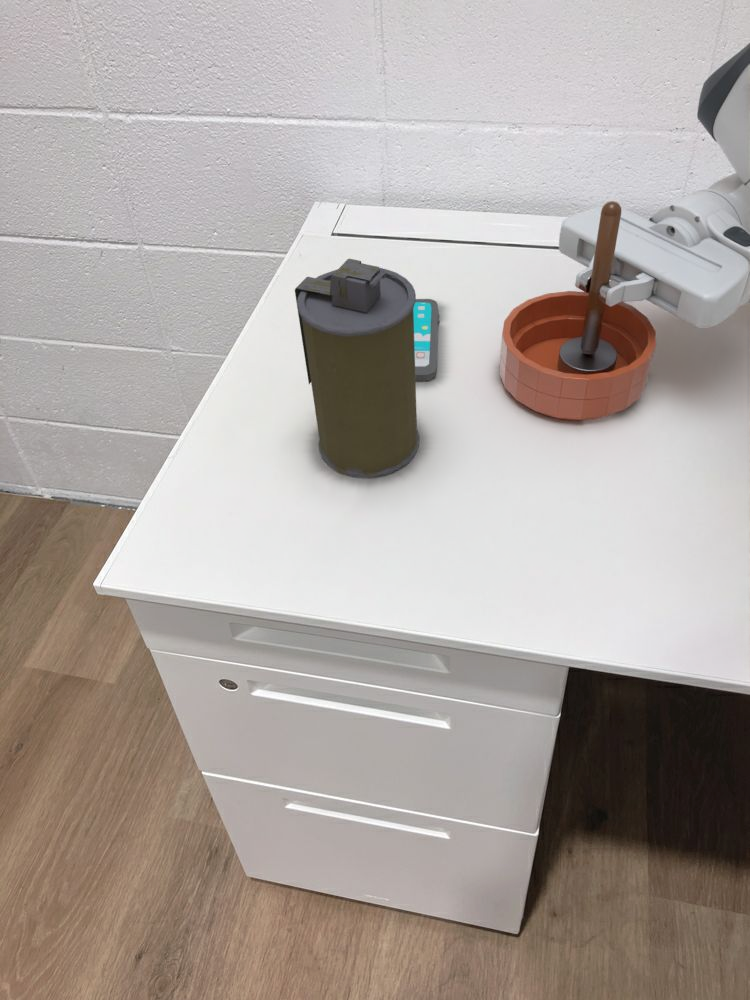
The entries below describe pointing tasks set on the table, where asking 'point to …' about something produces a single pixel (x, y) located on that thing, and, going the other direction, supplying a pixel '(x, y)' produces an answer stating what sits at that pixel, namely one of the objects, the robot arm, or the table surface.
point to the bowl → (535, 355)
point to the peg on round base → (595, 306)
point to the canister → (361, 366)
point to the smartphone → (425, 338)
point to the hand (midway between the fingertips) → (592, 290)
